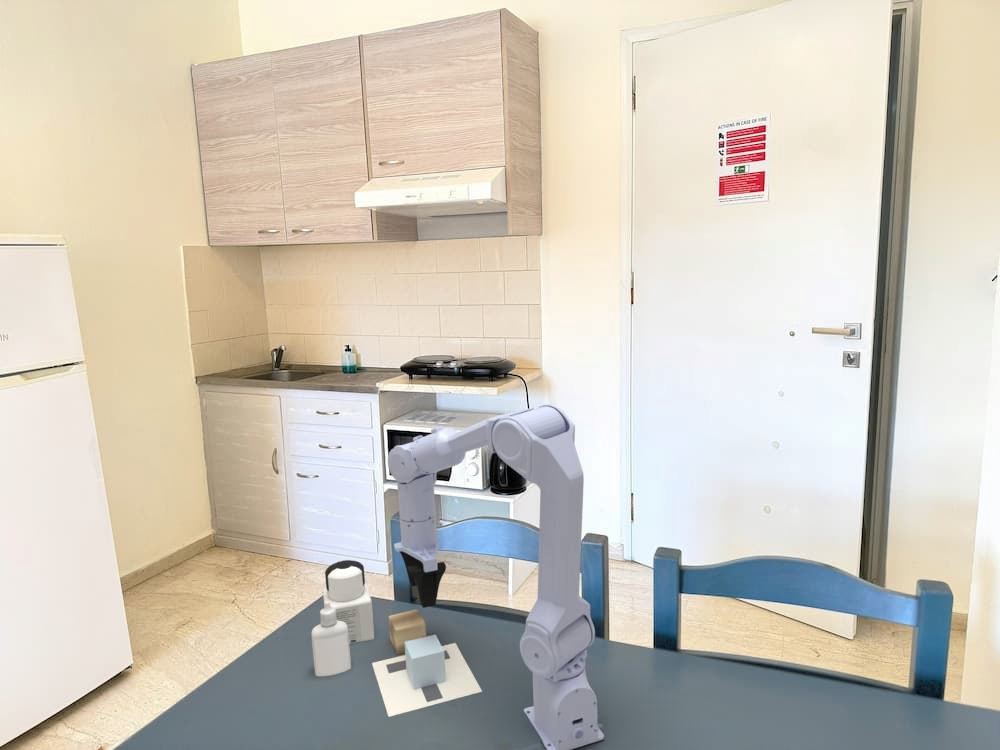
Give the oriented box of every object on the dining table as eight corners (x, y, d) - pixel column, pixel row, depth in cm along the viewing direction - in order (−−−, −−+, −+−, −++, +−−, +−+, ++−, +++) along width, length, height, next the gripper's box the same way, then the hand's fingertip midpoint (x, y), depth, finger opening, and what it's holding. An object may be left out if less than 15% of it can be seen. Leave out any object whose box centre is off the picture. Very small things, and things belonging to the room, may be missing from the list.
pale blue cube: (446, 681, 102) (444, 650, 101) (414, 689, 100) (411, 659, 99) (437, 663, 106) (435, 634, 105) (406, 671, 104) (404, 641, 104)
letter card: (482, 695, 99) (482, 691, 99) (388, 720, 94) (388, 716, 94) (455, 646, 112) (455, 642, 112) (372, 666, 107) (371, 662, 107)
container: (326, 628, 119) (320, 560, 117) (369, 619, 121) (364, 552, 119) (328, 651, 112) (322, 579, 110) (374, 642, 114) (369, 571, 112)
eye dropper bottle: (344, 682, 103) (338, 610, 101) (310, 679, 104) (303, 608, 102) (355, 665, 108) (349, 596, 106) (322, 662, 109) (316, 594, 107)
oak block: (427, 650, 111) (425, 623, 110) (397, 658, 109) (395, 630, 108) (418, 635, 116) (417, 609, 115) (390, 643, 114) (388, 616, 113)
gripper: (384, 504, 112) (389, 580, 114) (402, 536, 98) (408, 621, 100) (425, 498, 114) (429, 572, 116) (448, 528, 101) (453, 611, 103)
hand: (422, 594), depth 108 cm, fingers open, 7 cm apart
